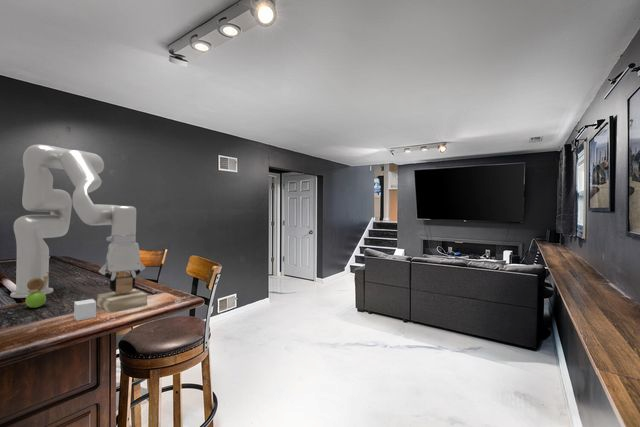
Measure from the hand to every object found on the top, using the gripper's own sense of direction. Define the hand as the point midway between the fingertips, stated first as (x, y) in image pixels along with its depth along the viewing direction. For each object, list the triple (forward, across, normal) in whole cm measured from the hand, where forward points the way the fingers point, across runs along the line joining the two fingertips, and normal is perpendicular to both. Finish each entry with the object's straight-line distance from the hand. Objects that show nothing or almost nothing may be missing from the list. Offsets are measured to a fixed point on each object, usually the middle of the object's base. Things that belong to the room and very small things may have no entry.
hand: (122, 288), depth 115 cm
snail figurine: (+6, -22, +16) cm, 28 cm away
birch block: (+6, 0, 0) cm, 6 cm away
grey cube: (+6, -12, -6) cm, 15 cm away
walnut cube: (+1, 0, 0) cm, 1 cm away
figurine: (+6, +4, +16) cm, 18 cm away
